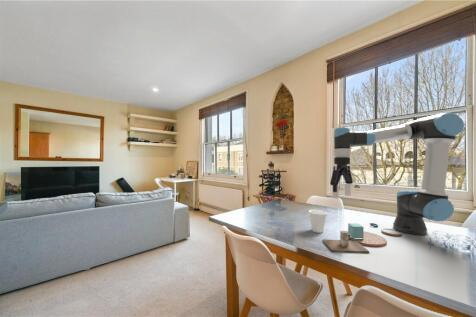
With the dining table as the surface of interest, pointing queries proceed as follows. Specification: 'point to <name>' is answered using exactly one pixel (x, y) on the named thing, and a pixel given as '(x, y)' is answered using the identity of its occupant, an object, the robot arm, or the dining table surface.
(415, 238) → the dining table surface
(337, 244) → the dark wooden tray
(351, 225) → the teal block
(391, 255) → the dining table surface
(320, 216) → the cup
